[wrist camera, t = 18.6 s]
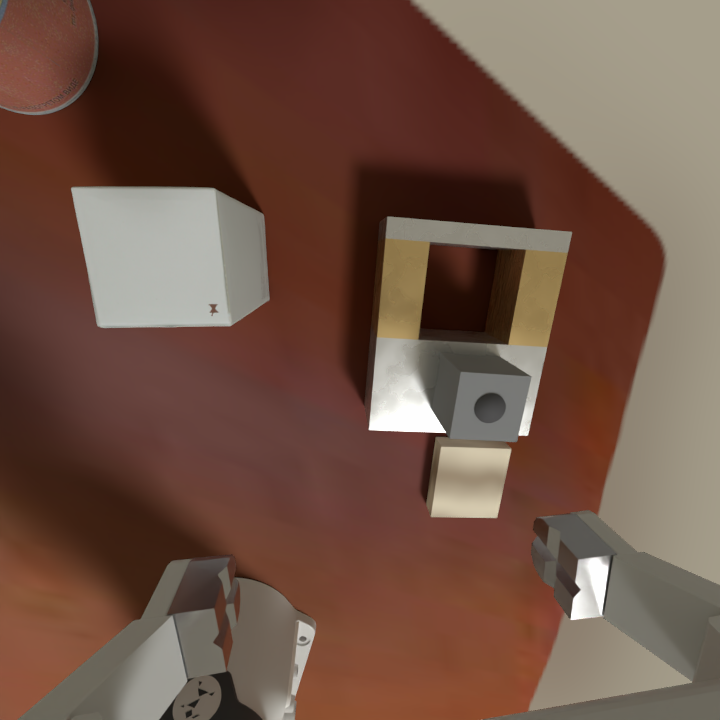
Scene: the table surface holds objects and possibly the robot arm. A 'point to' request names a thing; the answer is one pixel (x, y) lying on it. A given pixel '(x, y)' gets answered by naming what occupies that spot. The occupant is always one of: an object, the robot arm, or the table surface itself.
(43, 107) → the canned food
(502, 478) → the tab
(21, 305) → the table surface
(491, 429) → the nut block
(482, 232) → the grey yellow rectangular frame
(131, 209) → the supplement box
